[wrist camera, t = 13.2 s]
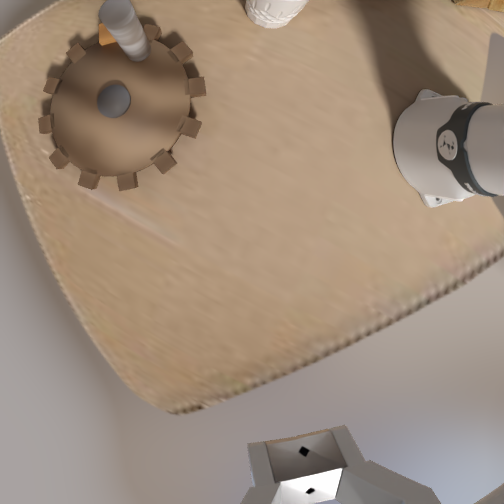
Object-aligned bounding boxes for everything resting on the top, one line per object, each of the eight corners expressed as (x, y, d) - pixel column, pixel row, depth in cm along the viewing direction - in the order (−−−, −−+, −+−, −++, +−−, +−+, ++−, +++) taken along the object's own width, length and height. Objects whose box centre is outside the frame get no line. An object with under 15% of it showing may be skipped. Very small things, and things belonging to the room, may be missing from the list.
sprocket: (86, 17, 30) (47, -30, 16) (232, 55, 35) (246, 7, 21) (26, 163, 34) (-38, 168, 21) (166, 213, 39) (147, 239, 26)
